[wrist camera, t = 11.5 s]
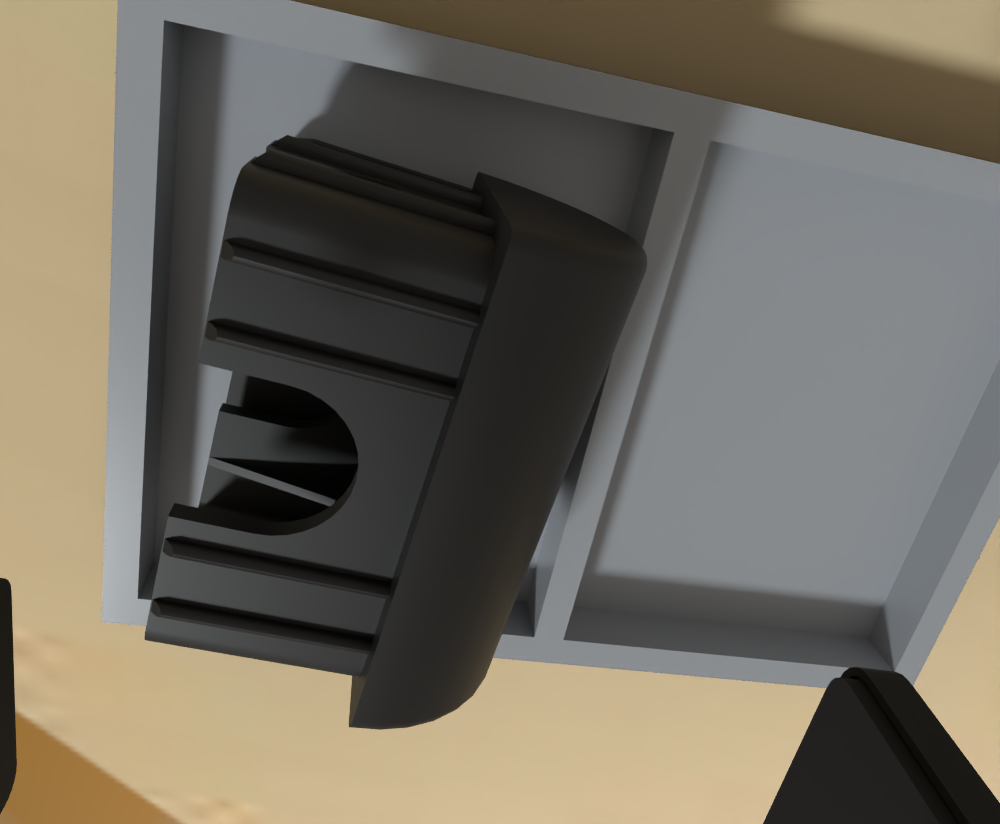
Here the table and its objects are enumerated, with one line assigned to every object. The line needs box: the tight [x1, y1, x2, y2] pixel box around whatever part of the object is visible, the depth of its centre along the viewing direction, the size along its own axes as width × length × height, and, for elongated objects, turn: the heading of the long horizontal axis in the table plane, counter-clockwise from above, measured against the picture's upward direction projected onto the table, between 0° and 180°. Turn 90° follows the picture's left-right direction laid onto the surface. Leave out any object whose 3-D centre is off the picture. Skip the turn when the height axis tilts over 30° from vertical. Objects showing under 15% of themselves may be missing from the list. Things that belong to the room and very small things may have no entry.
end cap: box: [145, 135, 647, 729], centre depth 17 cm, size 10×7×7 cm
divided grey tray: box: [102, 0, 1000, 688], centre depth 20 cm, size 22×15×2 cm, turn 78°
